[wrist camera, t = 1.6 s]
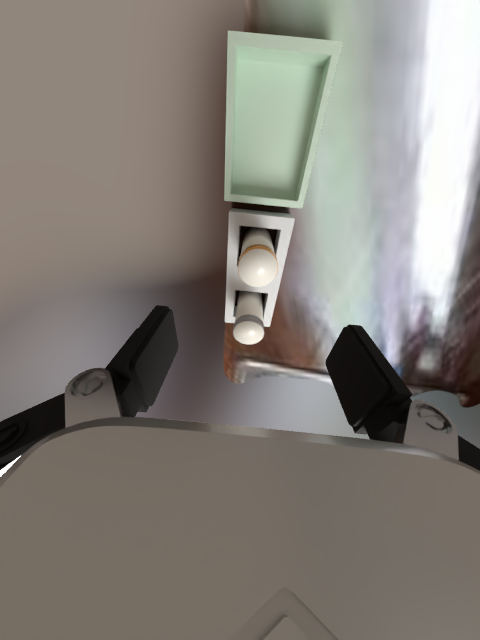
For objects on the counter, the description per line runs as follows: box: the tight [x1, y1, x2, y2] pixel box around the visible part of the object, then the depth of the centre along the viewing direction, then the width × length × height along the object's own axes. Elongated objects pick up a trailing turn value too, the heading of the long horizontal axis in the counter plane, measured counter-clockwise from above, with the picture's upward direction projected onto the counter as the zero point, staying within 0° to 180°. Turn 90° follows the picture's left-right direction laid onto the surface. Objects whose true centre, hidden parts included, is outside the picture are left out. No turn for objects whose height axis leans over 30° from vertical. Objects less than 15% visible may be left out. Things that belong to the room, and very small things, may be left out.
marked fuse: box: [238, 227, 278, 287], centre depth 20 cm, size 4×4×9 cm
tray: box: [224, 31, 343, 209], centre depth 17 cm, size 10×8×2 cm
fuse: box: [233, 291, 264, 344], centre depth 25 cm, size 4×4×9 cm
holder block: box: [225, 208, 295, 327], centre depth 25 cm, size 15×7×3 cm, turn 176°
